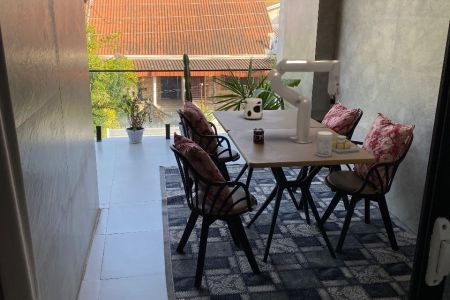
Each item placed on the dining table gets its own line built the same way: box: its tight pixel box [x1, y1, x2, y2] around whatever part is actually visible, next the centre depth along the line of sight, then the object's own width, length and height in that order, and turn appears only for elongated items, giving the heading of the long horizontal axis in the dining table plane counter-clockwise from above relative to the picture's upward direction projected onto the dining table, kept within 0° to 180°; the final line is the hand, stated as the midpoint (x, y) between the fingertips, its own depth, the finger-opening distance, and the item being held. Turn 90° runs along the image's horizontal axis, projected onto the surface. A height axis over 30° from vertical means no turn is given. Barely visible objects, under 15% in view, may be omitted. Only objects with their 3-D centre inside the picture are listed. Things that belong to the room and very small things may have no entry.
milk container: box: [243, 97, 264, 121], centre depth 395 cm, size 17×17×18 cm
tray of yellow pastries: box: [332, 135, 360, 155], centre depth 296 cm, size 16×20×9 cm
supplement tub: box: [315, 131, 333, 158], centre depth 281 cm, size 10×10×15 cm
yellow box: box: [332, 138, 351, 149], centre depth 298 cm, size 17×12×5 cm
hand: (332, 104), depth 311 cm, fingers closed
